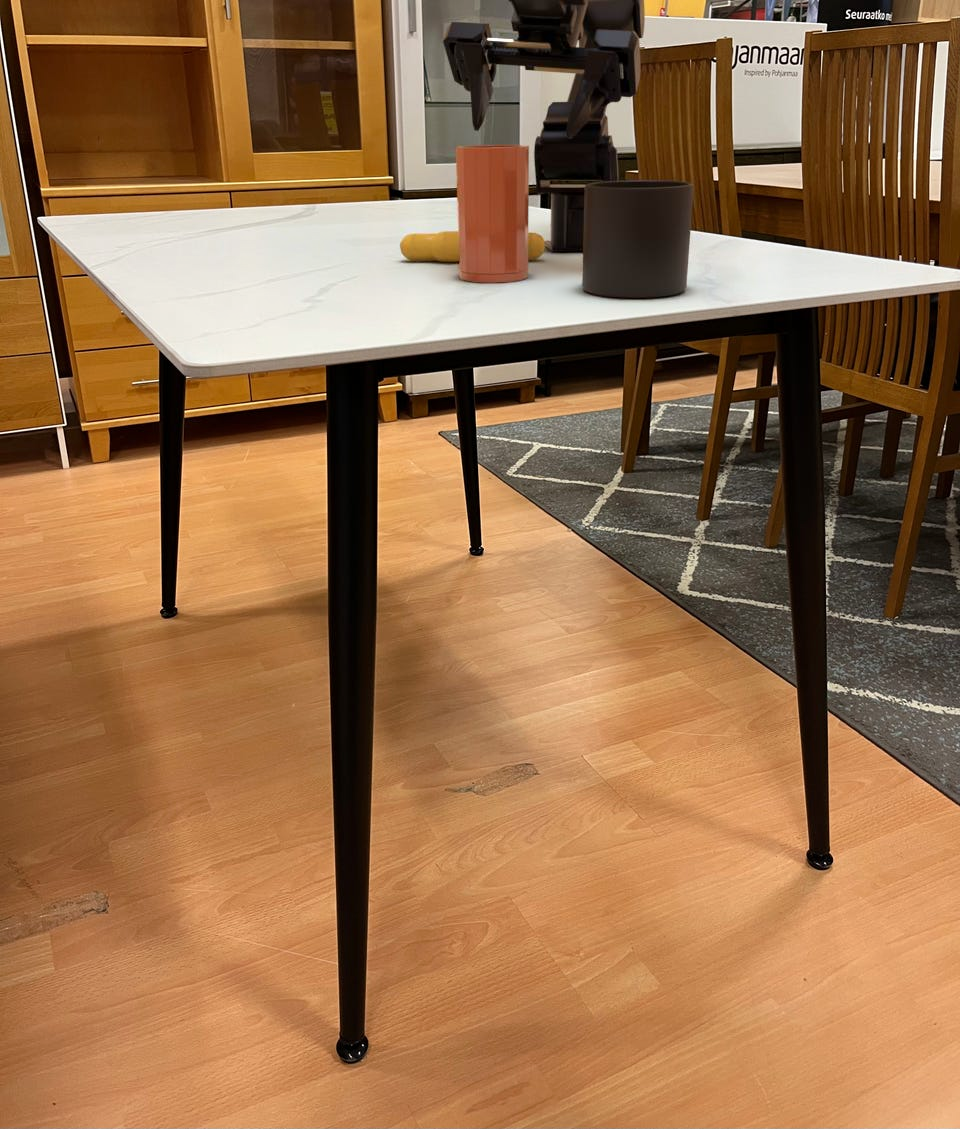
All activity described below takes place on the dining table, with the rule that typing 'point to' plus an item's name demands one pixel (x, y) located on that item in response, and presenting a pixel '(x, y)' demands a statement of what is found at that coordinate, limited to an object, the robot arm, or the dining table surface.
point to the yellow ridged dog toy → (452, 246)
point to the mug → (636, 238)
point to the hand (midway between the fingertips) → (521, 131)
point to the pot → (493, 212)
